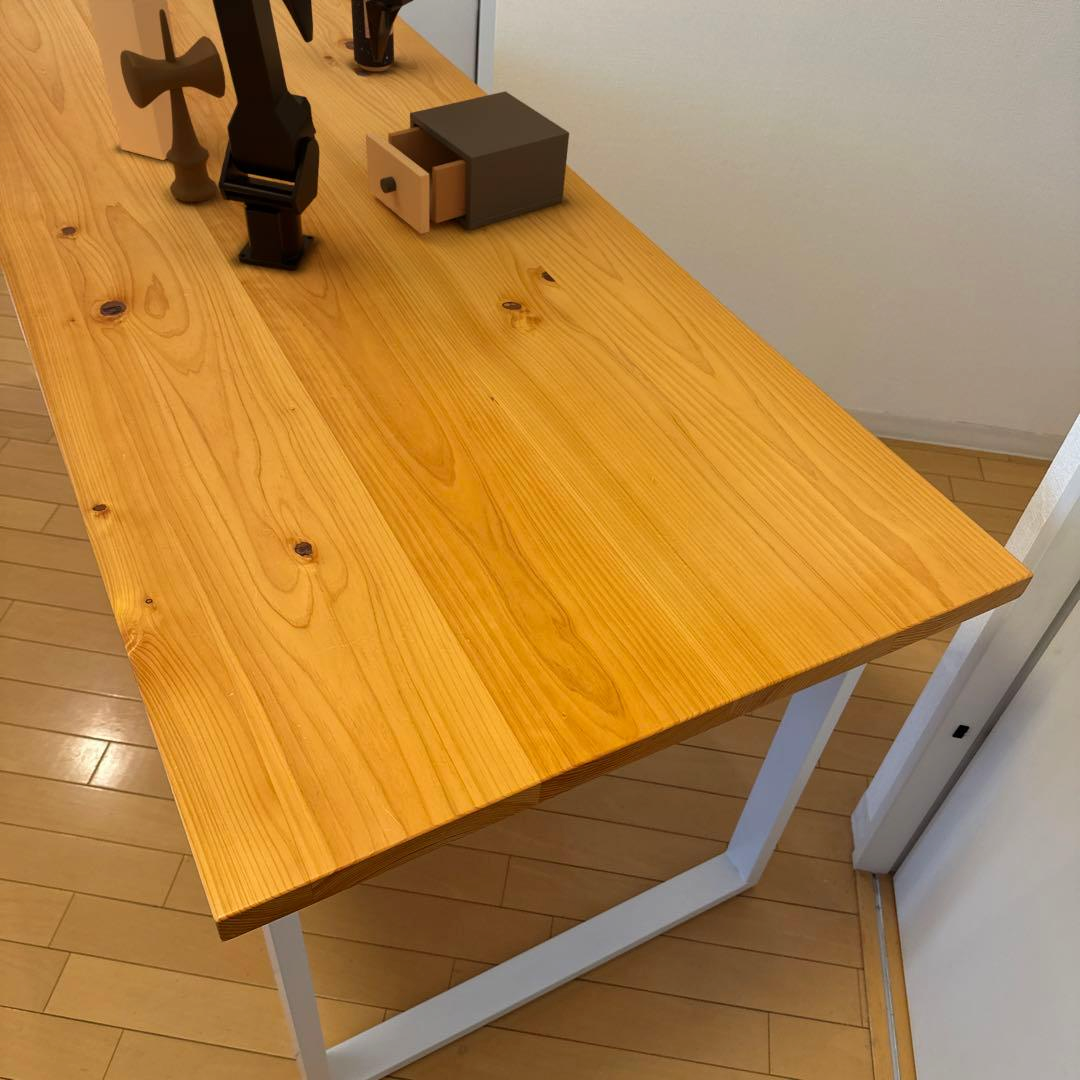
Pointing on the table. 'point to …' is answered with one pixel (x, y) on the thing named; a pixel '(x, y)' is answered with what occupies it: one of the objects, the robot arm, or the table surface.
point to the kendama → (179, 104)
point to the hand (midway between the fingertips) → (343, 51)
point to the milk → (122, 24)
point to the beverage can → (368, 40)
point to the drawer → (417, 177)
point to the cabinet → (501, 155)
